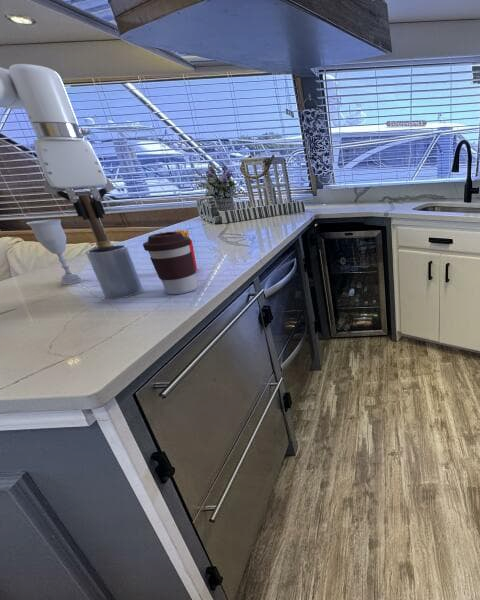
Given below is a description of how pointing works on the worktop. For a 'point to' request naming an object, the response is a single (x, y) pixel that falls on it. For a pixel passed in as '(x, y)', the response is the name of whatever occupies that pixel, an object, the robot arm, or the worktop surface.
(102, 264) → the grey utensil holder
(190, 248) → the french fries
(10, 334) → the worktop surface
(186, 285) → the coffee cup
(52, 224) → the chalice
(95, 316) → the worktop surface
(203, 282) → the worktop surface
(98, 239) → the brush
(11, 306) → the worktop surface
